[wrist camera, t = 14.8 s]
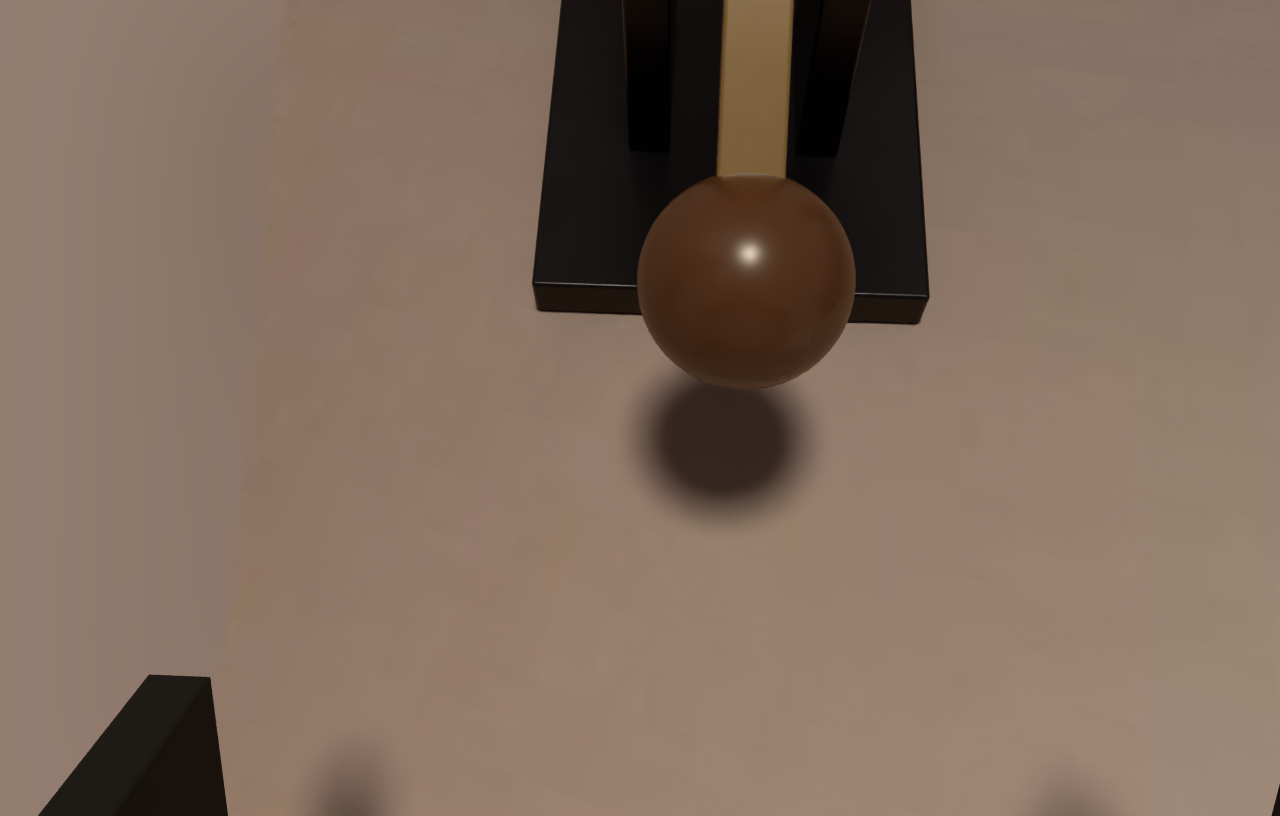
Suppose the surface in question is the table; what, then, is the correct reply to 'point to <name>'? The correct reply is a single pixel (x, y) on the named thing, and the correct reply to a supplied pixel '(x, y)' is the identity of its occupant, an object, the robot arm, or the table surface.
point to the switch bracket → (687, 142)
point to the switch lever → (748, 232)
